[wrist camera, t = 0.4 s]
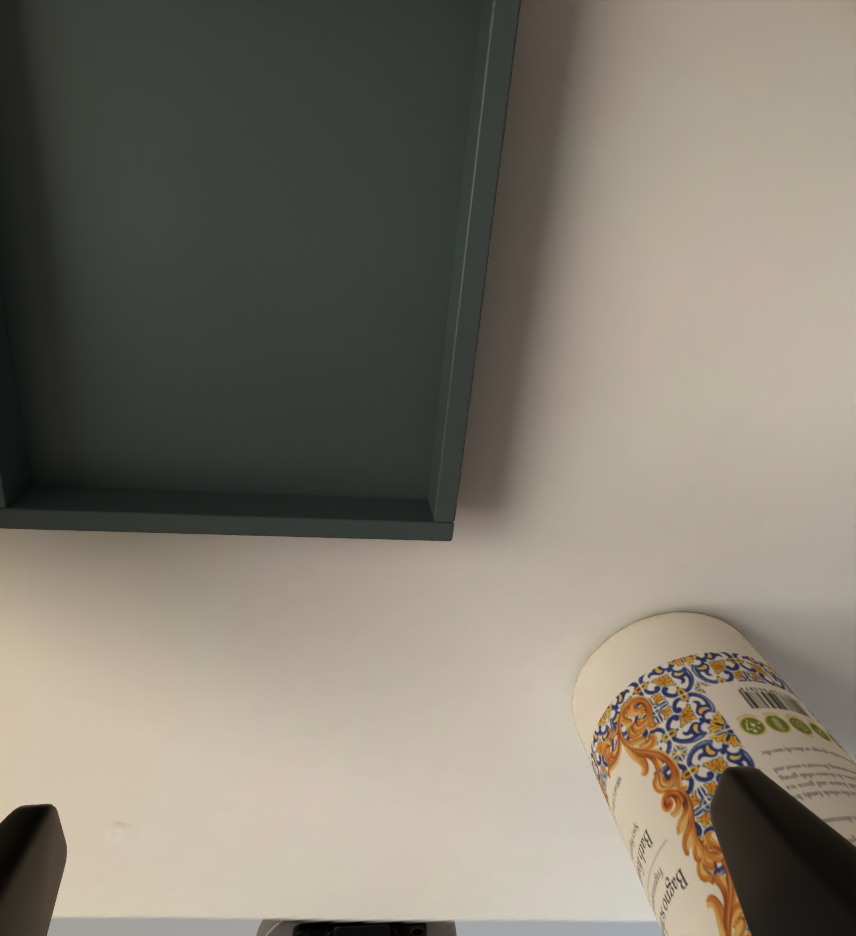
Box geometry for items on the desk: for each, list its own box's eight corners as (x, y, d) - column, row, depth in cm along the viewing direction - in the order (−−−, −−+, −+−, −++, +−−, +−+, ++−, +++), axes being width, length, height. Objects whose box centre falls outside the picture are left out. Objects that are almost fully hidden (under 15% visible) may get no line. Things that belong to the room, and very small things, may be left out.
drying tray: (442, 508, 21) (452, 542, 19) (20, 493, 19) (-16, 528, 17) (507, -47, 15) (531, -80, 13) (-80, -142, 13) (-152, -197, 11)
